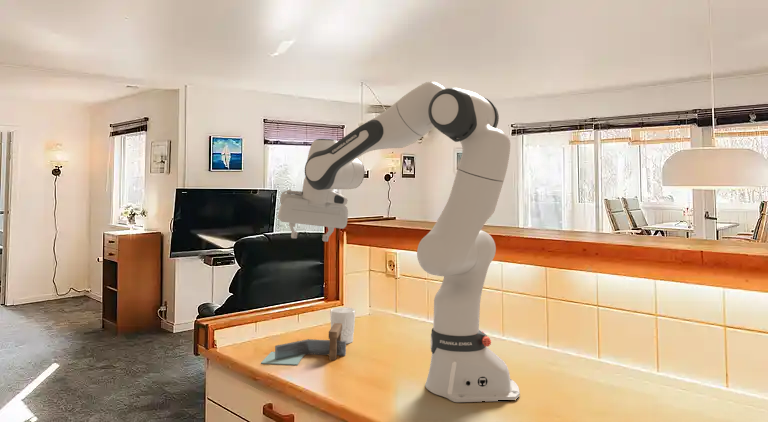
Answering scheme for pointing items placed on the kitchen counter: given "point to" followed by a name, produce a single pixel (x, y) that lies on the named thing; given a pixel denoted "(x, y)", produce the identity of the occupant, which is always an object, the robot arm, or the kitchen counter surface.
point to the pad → (282, 360)
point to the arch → (334, 339)
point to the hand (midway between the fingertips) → (309, 239)
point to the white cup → (344, 322)
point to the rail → (308, 348)
